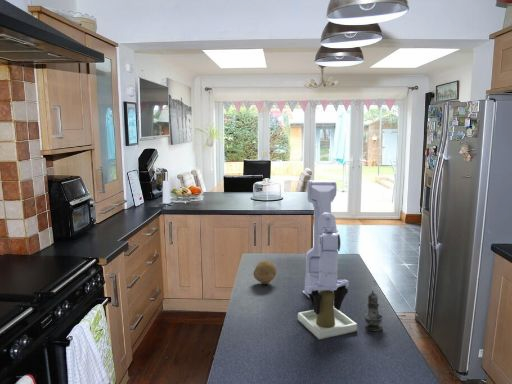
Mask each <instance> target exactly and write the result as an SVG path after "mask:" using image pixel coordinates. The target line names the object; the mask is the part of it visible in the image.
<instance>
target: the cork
mask: <svg viewBox="0 0 512 384" xmlns="http://www.w3.org/2000/svg"><path fill="white" fill-rule="evenodd" d="M319 295H321V296H322V298H321V301H320V312H319V314H318V315H317V321H316V324H317V325H318V326H320V327H323V328H331V327H333V326H335V319H334V309H333V306H334V298H335V295H334V291H332V290H323V291H320V292H319Z"/></svg>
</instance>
